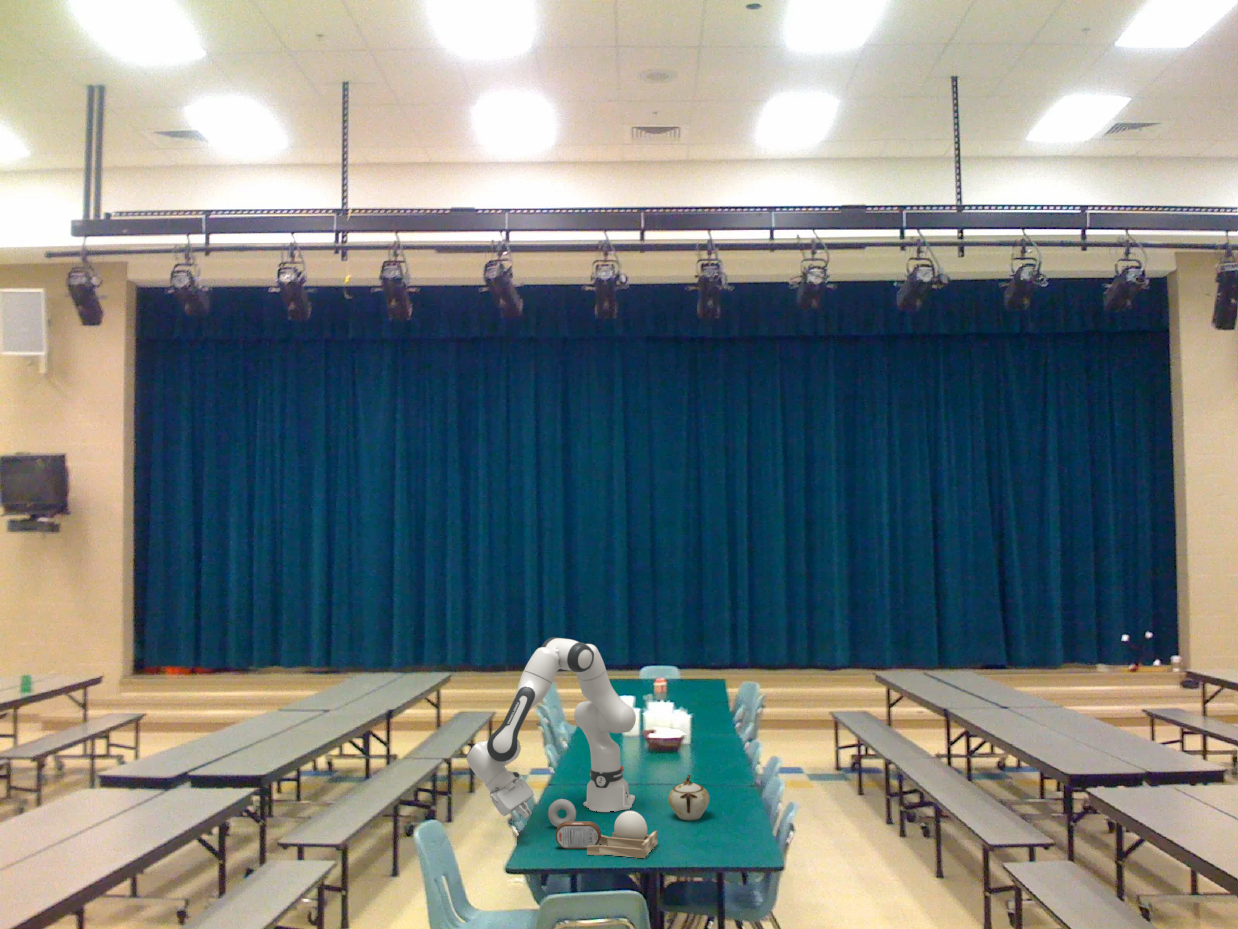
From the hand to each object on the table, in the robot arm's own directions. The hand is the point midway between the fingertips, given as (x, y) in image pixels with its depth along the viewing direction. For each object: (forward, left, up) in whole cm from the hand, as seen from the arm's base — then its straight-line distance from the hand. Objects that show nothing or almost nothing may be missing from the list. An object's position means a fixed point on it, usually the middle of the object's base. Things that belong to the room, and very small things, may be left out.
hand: (528, 816), depth 319 cm
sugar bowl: (-41, +45, -9) cm, 61 cm away
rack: (-2, +32, -9) cm, 34 cm away
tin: (0, +18, -9) cm, 20 cm away
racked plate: (-7, +34, -9) cm, 36 cm away
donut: (-18, +5, -9) cm, 21 cm away
